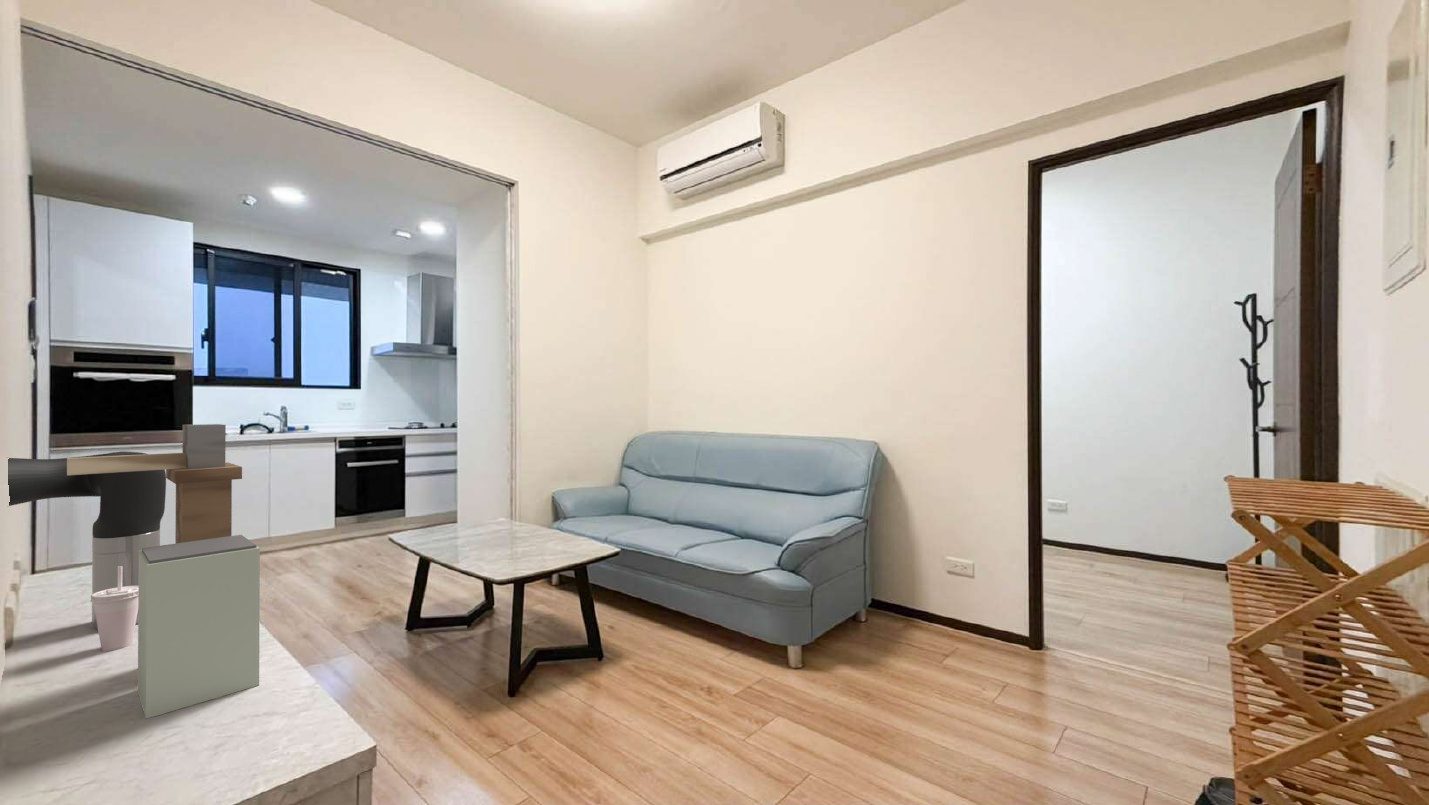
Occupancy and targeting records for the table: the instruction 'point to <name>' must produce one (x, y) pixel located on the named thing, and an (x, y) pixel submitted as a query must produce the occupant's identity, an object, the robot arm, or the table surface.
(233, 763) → the table surface
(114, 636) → the smoothie
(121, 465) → the hammer
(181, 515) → the wooden t-shaped stand
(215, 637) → the sage cabinet
